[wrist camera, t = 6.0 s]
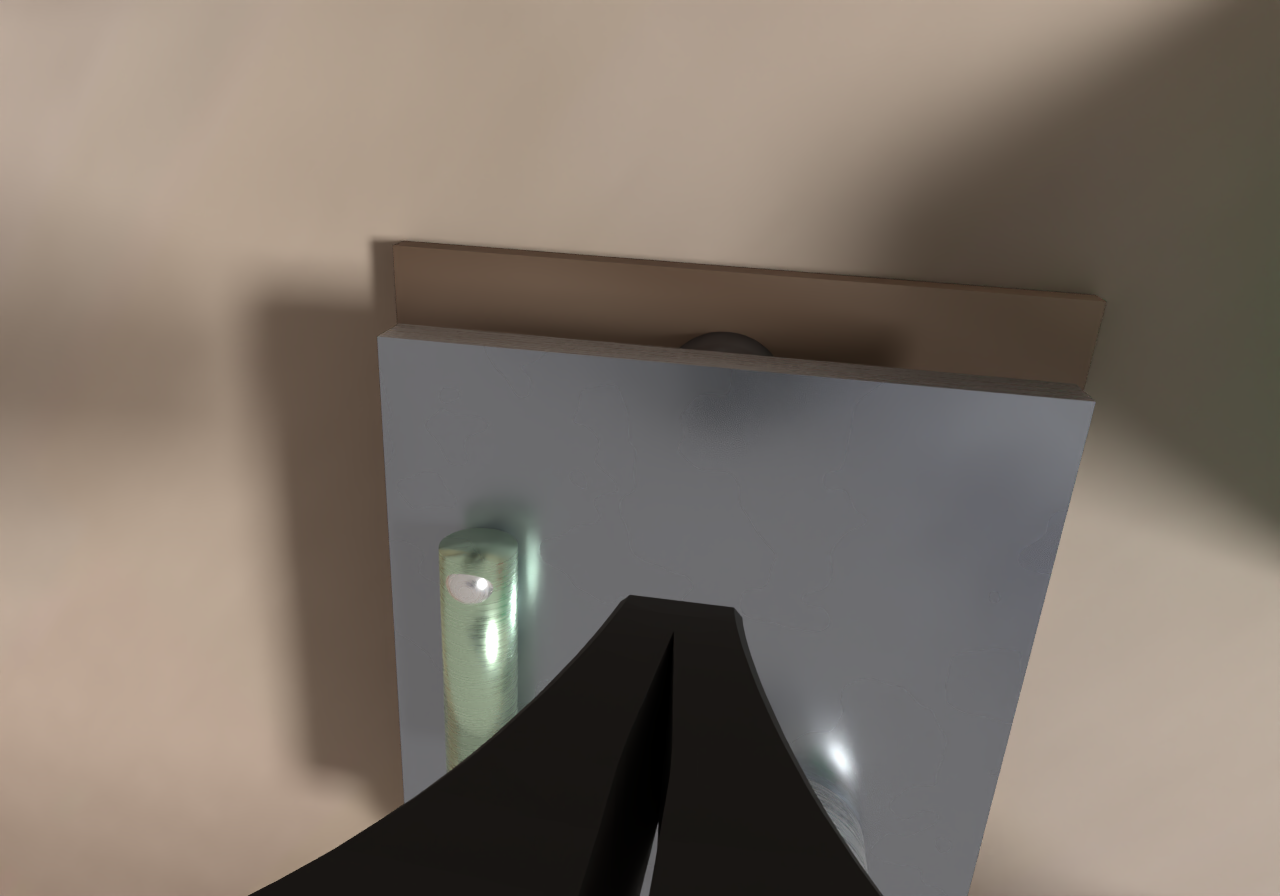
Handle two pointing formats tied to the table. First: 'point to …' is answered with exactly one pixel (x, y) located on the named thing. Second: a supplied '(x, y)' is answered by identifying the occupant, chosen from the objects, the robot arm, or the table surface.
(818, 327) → the stand base
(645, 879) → the level plate
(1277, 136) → the table surface
